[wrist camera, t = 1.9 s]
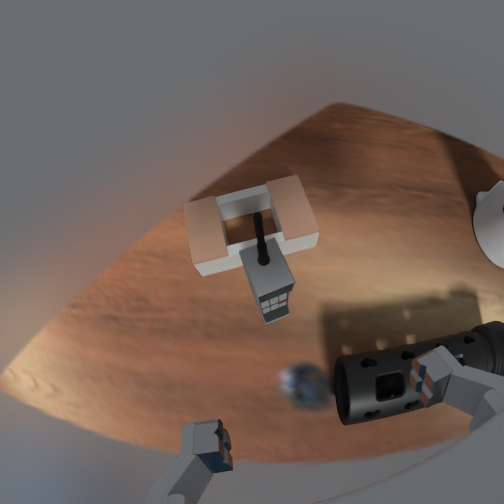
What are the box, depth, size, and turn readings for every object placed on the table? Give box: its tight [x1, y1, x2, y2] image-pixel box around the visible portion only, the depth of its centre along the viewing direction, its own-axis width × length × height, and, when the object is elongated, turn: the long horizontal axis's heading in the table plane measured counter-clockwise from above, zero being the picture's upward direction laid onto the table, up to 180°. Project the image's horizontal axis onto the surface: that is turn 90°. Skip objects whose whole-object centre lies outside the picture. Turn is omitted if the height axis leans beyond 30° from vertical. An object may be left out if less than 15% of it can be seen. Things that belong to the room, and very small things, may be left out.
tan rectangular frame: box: [183, 175, 320, 276], centre depth 45 cm, size 18×10×6 cm, turn 104°
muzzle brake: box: [334, 321, 504, 425], centre depth 32 cm, size 10×28×10 cm, turn 93°
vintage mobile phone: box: [239, 212, 295, 325], centre depth 31 cm, size 4×5×25 cm
